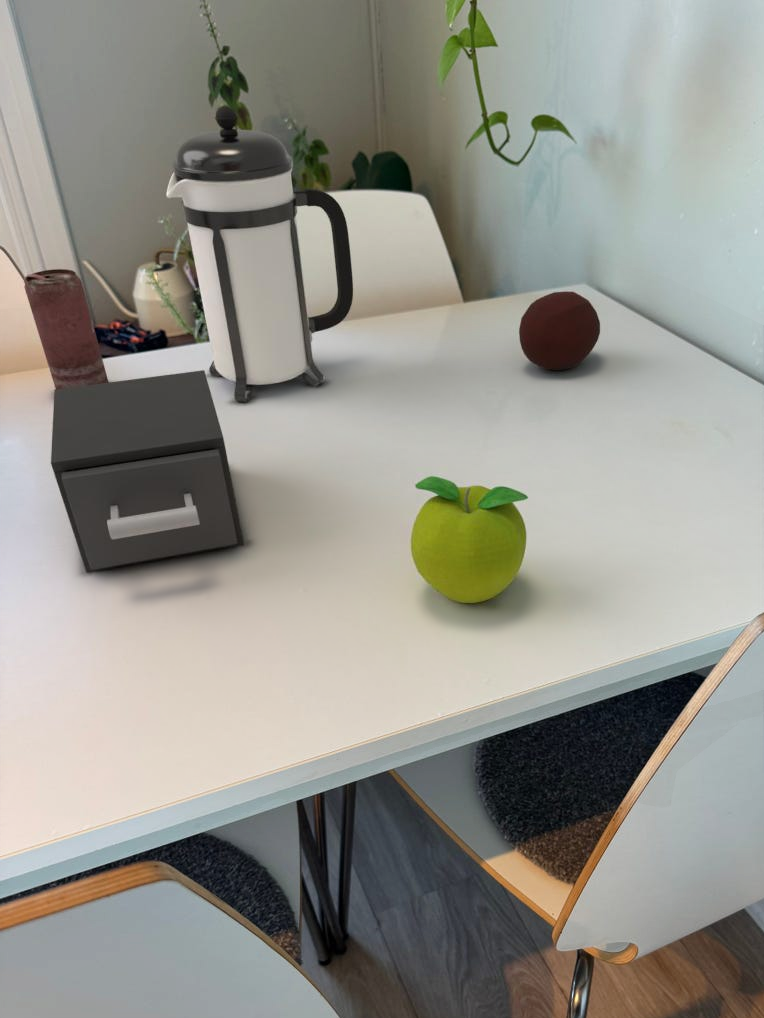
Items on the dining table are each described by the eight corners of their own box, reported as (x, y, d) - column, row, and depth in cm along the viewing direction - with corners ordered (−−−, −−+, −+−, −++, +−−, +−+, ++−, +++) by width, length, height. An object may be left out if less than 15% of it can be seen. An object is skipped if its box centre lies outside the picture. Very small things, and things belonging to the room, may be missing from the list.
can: (62, 384, 115) (27, 268, 106) (114, 382, 115) (84, 266, 107) (50, 404, 110) (12, 284, 101) (104, 402, 110) (71, 282, 102)
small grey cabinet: (244, 545, 85) (223, 437, 78) (86, 573, 81) (50, 462, 75) (224, 469, 97) (204, 369, 90) (85, 491, 93) (54, 389, 86)
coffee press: (300, 412, 108) (261, 121, 89) (182, 395, 112) (121, 113, 93) (362, 359, 120) (339, 95, 102) (254, 346, 125) (213, 90, 106)
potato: (502, 368, 118) (502, 294, 112) (567, 345, 124) (571, 274, 118) (550, 388, 113) (553, 312, 107) (616, 363, 119) (622, 290, 113)
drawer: (244, 569, 80) (225, 477, 74) (91, 597, 77) (60, 503, 71) (219, 472, 94) (202, 389, 89) (89, 493, 91) (63, 408, 85)
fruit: (434, 555, 83) (430, 454, 77) (535, 571, 81) (538, 469, 75) (398, 613, 76) (390, 508, 70) (507, 633, 74) (508, 525, 68)
